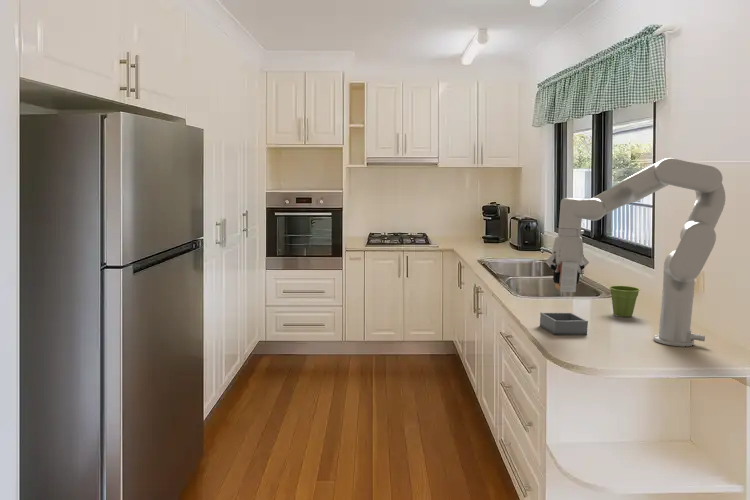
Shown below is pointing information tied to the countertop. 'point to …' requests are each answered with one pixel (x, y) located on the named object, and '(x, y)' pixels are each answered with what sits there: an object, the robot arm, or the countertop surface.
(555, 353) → the countertop surface
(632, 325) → the countertop surface
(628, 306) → the plant pot
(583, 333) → the crate
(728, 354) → the countertop surface
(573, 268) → the small box
